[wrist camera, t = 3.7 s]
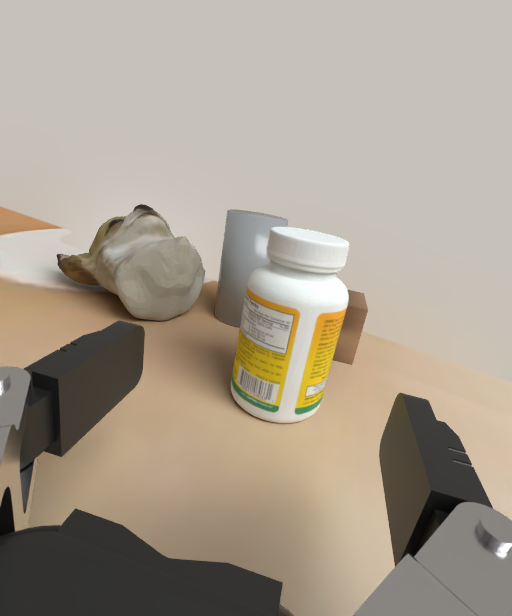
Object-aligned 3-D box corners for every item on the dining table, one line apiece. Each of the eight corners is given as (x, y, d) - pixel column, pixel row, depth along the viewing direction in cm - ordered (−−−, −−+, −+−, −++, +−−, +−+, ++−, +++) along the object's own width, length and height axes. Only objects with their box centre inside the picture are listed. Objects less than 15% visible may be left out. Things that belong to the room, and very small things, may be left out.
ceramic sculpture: (107, 208, 21) (46, 190, 31) (107, 344, 23) (50, 285, 33) (246, 219, 28) (158, 201, 38) (234, 322, 30) (155, 280, 40)
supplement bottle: (231, 423, 18) (262, 235, 15) (228, 368, 23) (250, 219, 20) (331, 430, 19) (382, 253, 15) (307, 375, 24) (342, 233, 20)
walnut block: (292, 351, 27) (304, 296, 25) (299, 330, 31) (309, 281, 30) (351, 365, 26) (367, 310, 25) (350, 342, 30) (363, 293, 29)
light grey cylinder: (206, 319, 30) (219, 211, 27) (224, 302, 34) (237, 208, 31) (263, 333, 29) (283, 223, 26) (273, 313, 34) (291, 218, 31)
